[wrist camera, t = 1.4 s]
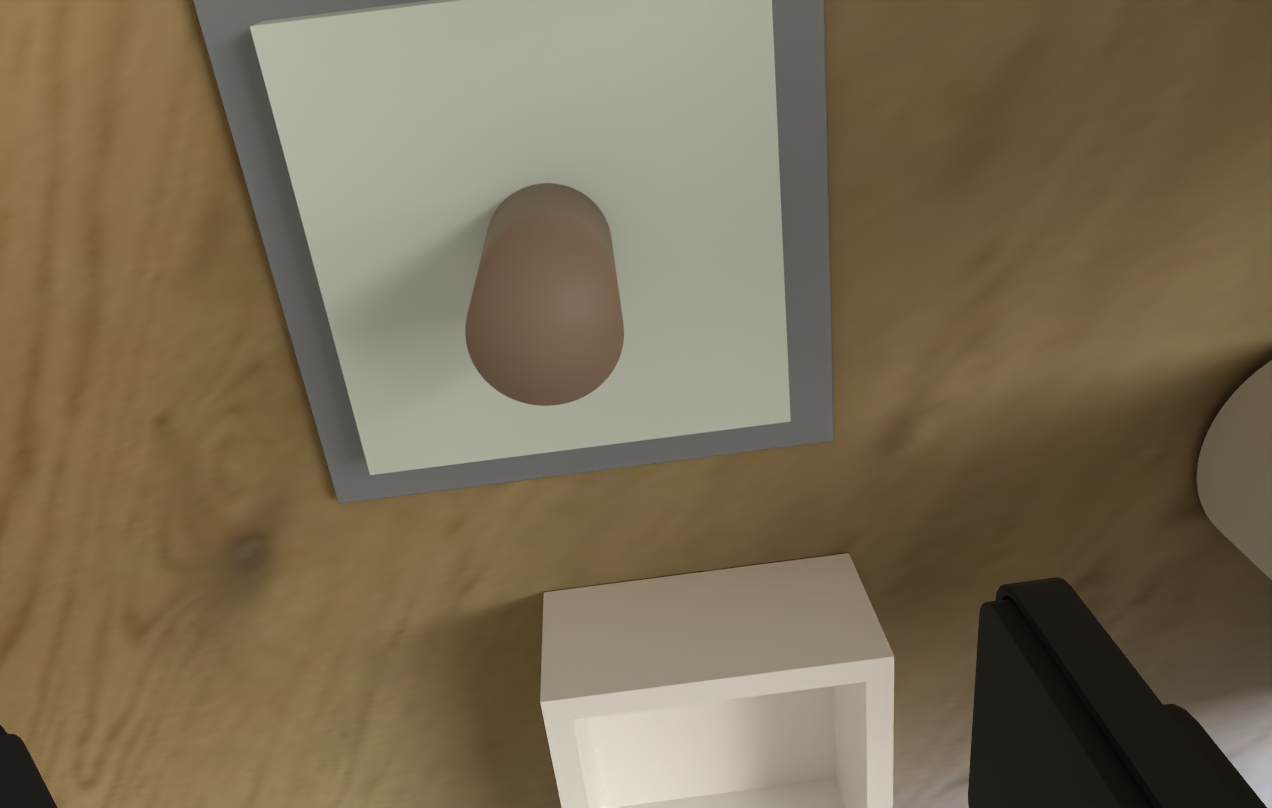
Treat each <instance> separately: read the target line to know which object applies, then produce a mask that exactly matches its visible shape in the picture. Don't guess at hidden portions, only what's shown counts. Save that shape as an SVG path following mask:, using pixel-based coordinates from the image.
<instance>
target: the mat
mask: <svg viewBox="0 0 1272 808" xmlns="http://www.w3.org/2000/svg"><path fill="white" fill-rule="evenodd" d="M421 1H429V0H193V2H194V5H195V9H196V12H197V15H198V19H199V22H200V26H201V29H202V33H203V36H204V40H205V43H206V47H207V50H208V53H209V57H210V60H211V64H212V67H213V71H214V74H215V78H216V81H217V85H218V88H219V92H220V95H221V98H222V102H223V105H224V109H225V112H226V116H227V119H228V123H229V126H230V130H231V133H232V136H233V140H234V143H235V147H236V150H237V154H238V157H239V161H240V164H241V168H242V171H243V174H244V178H245V181H246V185H247V188H248V192H249V195H250V199H251V202H252V206H253V209H254V212H255V216H256V219H257V223H258V226H259V230H260V233H261V237H262V240H263V244H264V247H265V250H266V254H267V257H268V261H269V264H270V268H271V271H272V275H273V278H274V282H275V285H276V288H277V292H278V295H279V299H280V302H281V306H282V309H283V313H284V316H285V320H286V323H287V326H288V330H289V333H290V337H291V340H292V344H293V347H294V351H295V354H296V358H297V361H298V364H299V368H300V371H301V375H302V378H303V382H304V385H305V389H306V392H307V396H308V399H309V402H310V406H311V409H312V413H313V416H314V420H315V423H316V427H317V430H318V434H319V437H320V440H321V444H322V447H323V451H324V454H325V458H326V461H327V465H328V468H329V472H330V475H331V478H332V482H333V485H334V489H335V492H336V496H337V499H338V503H339V504H341V503H349V502H357V501H365V500H373V499H381V498H388V497H396V496H404V495H412V494H420V493H428V492H435V491H443V490H451V489H459V488H467V487H475V486H482V485H490V484H498V483H506V482H514V481H521V480H529V479H537V478H545V477H553V476H561V475H568V474H576V473H584V472H592V471H600V470H608V469H615V468H623V467H631V466H639V465H647V464H655V463H662V462H670V461H678V460H686V459H694V458H702V457H709V456H717V455H725V454H733V453H741V452H749V451H756V450H764V449H772V448H780V447H788V446H796V445H803V444H811V443H819V442H827V441H834V424H833V380H832V336H831V292H830V247H829V203H828V159H827V115H826V71H825V27H824V0H772V15H773V37H774V59H775V82H776V104H777V127H778V149H779V171H780V194H781V216H782V239H783V261H784V283H785V306H786V328H787V351H788V373H789V395H790V418H791V422H783V423H775V424H767V425H759V426H752V427H744V428H736V429H728V430H720V431H712V432H705V433H697V434H689V435H681V436H673V437H665V438H657V439H650V440H642V441H634V442H626V443H618V444H610V445H603V446H595V447H587V448H579V449H571V450H563V451H556V452H548V453H540V454H532V455H524V456H516V457H508V458H501V459H493V460H485V461H477V462H469V463H461V464H454V465H446V466H438V467H430V468H422V469H414V470H407V471H399V472H391V473H383V474H375V475H370V473H369V469H368V466H367V462H366V458H365V454H364V451H363V447H362V443H361V440H360V436H359V432H358V428H357V425H356V421H355V417H354V413H353V410H352V406H351V402H350V399H349V395H348V391H347V387H346V384H345V380H344V376H343V372H342V369H341V365H340V361H339V358H338V354H337V350H336V346H335V343H334V339H333V335H332V332H331V328H330V324H329V320H328V317H327V313H326V309H325V305H324V302H323V298H322V294H321V291H320V287H319V283H318V279H317V276H316V272H315V268H314V264H313V261H312V257H311V253H310V250H309V246H308V242H307V238H306V235H305V231H304V227H303V224H302V220H301V216H300V212H299V209H298V205H297V201H296V197H295V194H294V190H293V186H292V183H291V179H290V175H289V171H288V168H287V164H286V160H285V156H284V153H283V149H282V145H281V142H280V138H279V134H278V130H277V127H276V123H275V119H274V115H273V112H272V108H271V104H270V101H269V97H268V93H267V89H266V86H265V82H264V78H263V75H262V71H261V67H260V63H259V60H258V56H257V52H256V48H255V45H254V41H253V37H252V34H251V30H250V26H252V25H254V24H257V23H260V22H262V21H268V20H276V19H284V18H292V17H300V16H308V15H316V14H324V13H332V12H341V11H349V10H357V9H365V8H373V7H381V6H389V5H397V4H405V3H413V2H421Z"/></svg>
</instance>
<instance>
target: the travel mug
mask: <svg viewBox="0 0 1272 808" xmlns="http://www.w3.org/2000/svg"><path fill="white" fill-rule="evenodd" d="M1197 489H1198V494H1199V498H1200V501H1201V505H1202V507H1203V509H1204V511H1205V513H1206V515H1207V516H1208V518H1209V519H1210V521H1211V522H1212V523H1213V524H1214V526H1215V527H1216V528H1217V529H1218V530H1219V531H1220V532H1221V533H1222V534H1223V535H1224V536H1226V537H1227V538H1228V539H1229V540H1230V541H1231V542H1232V543H1233V544H1234V545H1235V546H1236V547H1237V548H1238V549H1239V550H1240V551H1241V552H1242V553H1243V554H1244V555H1246V556H1247V557H1248V558H1249V559H1250V560H1251V561H1252V562H1253V563H1254V564H1255V565H1256V566H1257V567H1258V568H1259V569H1260V570H1261V571H1262V572H1263V573H1264V574H1265V575H1267V576H1268V577H1269V578H1270V579H1271V580H1272V360H1271V361H1270V362H1268V363H1267V364H1265V365H1264V366H1263V367H1261V368H1260V369H1259V370H1257V371H1256V372H1255V373H1254V374H1253V375H1252V376H1250V377H1249V378H1248V379H1247V380H1246V381H1245V382H1244V383H1243V384H1242V385H1241V386H1240V387H1239V388H1238V389H1237V390H1236V391H1235V392H1234V393H1233V395H1232V396H1231V397H1230V398H1229V399H1228V400H1227V402H1226V403H1225V404H1224V406H1223V407H1222V408H1221V410H1220V411H1219V413H1218V414H1217V416H1216V418H1215V419H1214V421H1213V423H1212V424H1211V426H1210V428H1209V430H1208V432H1207V435H1206V437H1205V440H1204V442H1203V445H1202V448H1201V452H1200V455H1199V460H1198V466H1197Z"/></svg>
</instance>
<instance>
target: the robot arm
mask: <svg viewBox="0 0 1272 808" xmlns="http://www.w3.org/2000/svg"><path fill="white" fill-rule="evenodd" d="M968 803H969V808H1267V807H1266V806H1265V805H1264V803H1263V802H1262V801H1261V800H1260V798H1259V797H1258V796H1257V795H1256V793H1255V792H1254V791H1253V790H1252V788H1251V787H1250V786H1249V785H1248V783H1247V782H1246V781H1245V780H1244V778H1243V777H1242V776H1241V775H1240V773H1239V772H1238V771H1237V770H1236V768H1235V767H1234V766H1233V765H1232V764H1231V762H1230V761H1229V760H1228V759H1227V757H1226V756H1225V755H1224V754H1223V752H1222V751H1221V750H1220V749H1219V747H1218V746H1217V745H1216V744H1215V742H1214V741H1213V740H1212V739H1211V737H1210V736H1209V735H1208V734H1207V732H1206V731H1205V730H1204V729H1203V727H1202V726H1201V725H1200V724H1199V723H1198V722H1197V721H1196V720H1195V719H1194V718H1193V717H1192V716H1191V715H1190V714H1189V713H1188V712H1187V711H1186V710H1185V709H1183V708H1181V707H1179V706H1177V705H1175V704H1166V705H1163V704H1162V703H1161V702H1160V700H1159V699H1158V698H1157V697H1156V695H1155V694H1154V693H1153V691H1152V690H1151V689H1150V688H1149V686H1148V685H1147V684H1146V682H1145V681H1144V680H1143V679H1142V677H1141V676H1140V675H1139V673H1138V672H1137V671H1136V669H1135V668H1134V667H1133V666H1132V664H1131V663H1130V662H1129V660H1128V659H1127V658H1126V657H1125V655H1124V654H1123V653H1122V651H1121V650H1120V649H1119V648H1118V646H1117V645H1116V644H1115V642H1114V641H1113V640H1112V639H1111V637H1110V636H1109V635H1108V633H1107V632H1106V631H1105V630H1104V628H1103V627H1102V626H1101V624H1100V623H1099V622H1098V621H1097V619H1096V618H1095V617H1094V615H1093V614H1092V613H1091V612H1090V610H1089V609H1088V608H1087V606H1086V605H1085V604H1084V603H1083V601H1082V600H1081V599H1080V597H1079V596H1078V595H1077V594H1076V592H1075V591H1074V590H1073V588H1072V587H1071V586H1070V585H1069V584H1068V583H1067V582H1066V581H1065V580H1064V579H1061V578H1058V577H1057V578H1049V579H1042V580H1034V581H1027V582H1019V583H1012V584H1005V585H1002V586H1000V587H999V589H998V591H997V594H996V600H995V601H992V602H985V603H983V604H982V606H981V608H980V615H979V630H978V646H977V662H976V678H975V694H974V710H973V726H972V741H971V757H970V773H969V789H968ZM0 808H57V806H56V804H55V802H54V800H53V798H52V796H51V794H50V792H49V791H48V789H47V787H46V785H45V783H44V781H43V779H42V777H41V775H40V773H39V771H38V769H37V767H36V765H35V763H34V761H33V759H32V757H31V755H30V753H29V752H28V750H27V748H26V746H25V744H24V742H23V741H22V740H21V738H20V737H18V736H17V735H15V734H7V732H6V731H5V730H4V728H3V727H2V726H1V725H0Z"/></svg>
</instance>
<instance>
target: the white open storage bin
mask: <svg viewBox="0 0 1272 808" xmlns="http://www.w3.org/2000/svg"><path fill="white" fill-rule="evenodd" d="M540 704H541V708H542V713H543V718H544V723H545V728H546V733H547V738H548V743H549V748H550V753H551V758H552V763H553V768H554V773H555V777H556V782H557V787H558V792H559V797H560V802H561V807H562V808H893V738H894V655H893V652H892V650H891V648H890V645H889V643H888V641H887V639H886V636H885V634H884V632H883V630H882V627H881V625H880V623H879V620H878V618H877V616H876V614H875V611H874V609H873V607H872V605H871V602H870V600H869V598H868V596H867V593H866V591H865V589H864V586H863V584H862V582H861V580H860V577H859V575H858V573H857V571H856V568H855V566H854V564H853V561H852V559H851V557H850V555H849V553H846V554H838V555H830V556H823V557H815V558H807V559H799V560H792V561H784V562H776V563H768V564H760V565H753V566H745V567H737V568H729V569H722V570H714V571H706V572H698V573H691V574H683V575H675V576H667V577H659V578H652V579H644V580H636V581H628V582H621V583H613V584H605V585H597V586H589V587H582V588H574V589H566V590H558V591H551V592H544V597H543V630H542V662H541V694H540Z"/></svg>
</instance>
